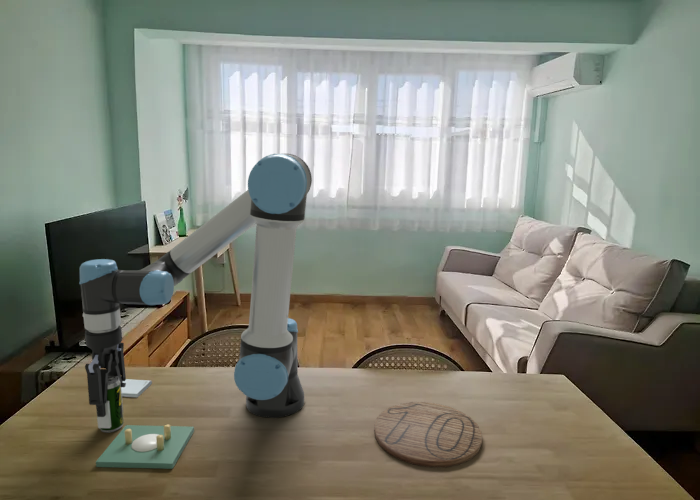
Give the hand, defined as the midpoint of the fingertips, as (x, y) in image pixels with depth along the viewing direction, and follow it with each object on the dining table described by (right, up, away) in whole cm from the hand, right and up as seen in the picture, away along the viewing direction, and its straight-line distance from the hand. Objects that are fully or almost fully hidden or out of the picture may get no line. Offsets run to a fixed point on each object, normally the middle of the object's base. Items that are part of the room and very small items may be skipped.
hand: (111, 420), depth 118 cm
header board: (+12, -4, -8) cm, 15 cm away
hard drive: (-6, +1, +19) cm, 20 cm away
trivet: (+75, -4, 0) cm, 75 cm away
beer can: (0, -2, 0) cm, 2 cm away
